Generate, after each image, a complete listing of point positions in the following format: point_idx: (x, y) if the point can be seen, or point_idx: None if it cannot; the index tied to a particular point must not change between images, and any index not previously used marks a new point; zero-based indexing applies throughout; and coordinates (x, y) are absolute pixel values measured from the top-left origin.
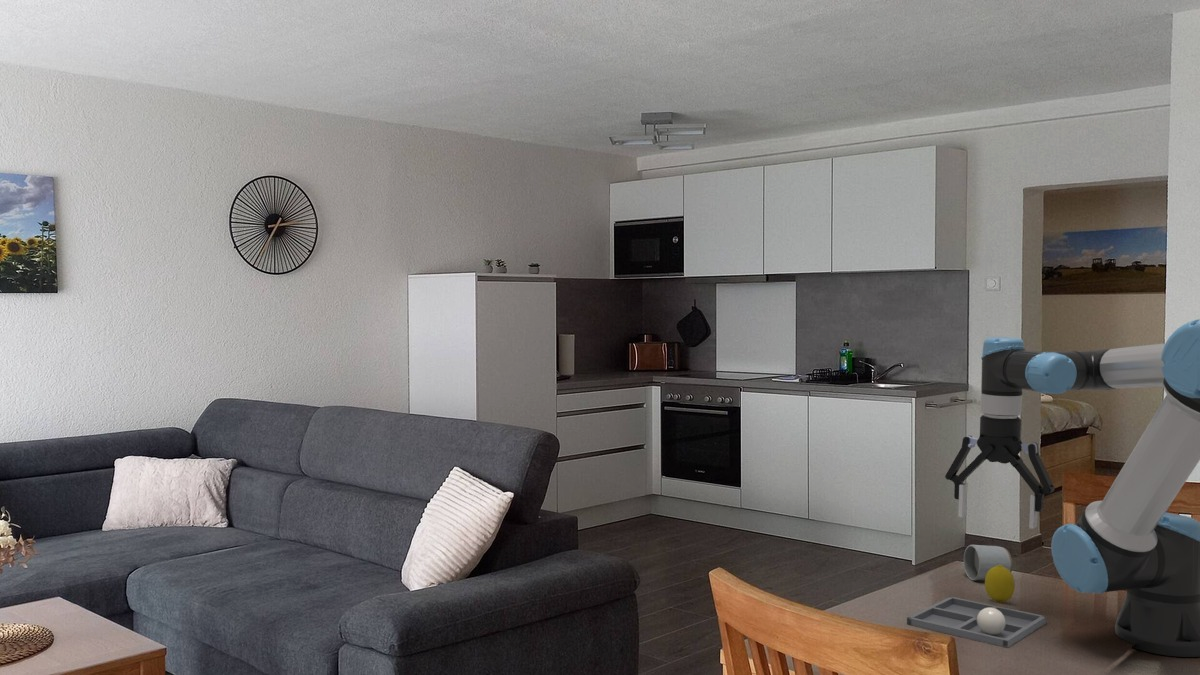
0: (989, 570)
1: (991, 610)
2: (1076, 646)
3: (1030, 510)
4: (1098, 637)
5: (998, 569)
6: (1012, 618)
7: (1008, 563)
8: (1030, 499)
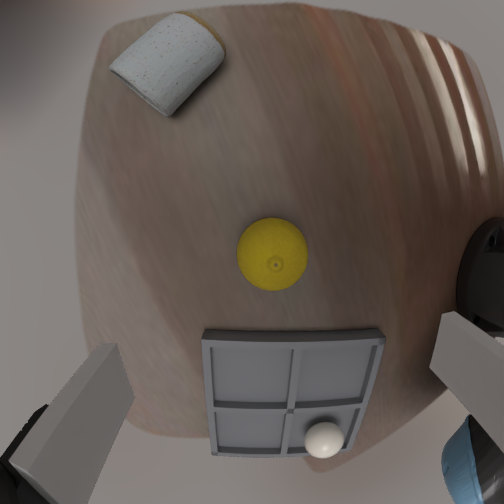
0: (250, 275)
1: (329, 456)
2: (416, 369)
3: (472, 412)
4: (439, 313)
5: (277, 279)
6: (330, 349)
7: (218, 54)
8: (498, 446)
